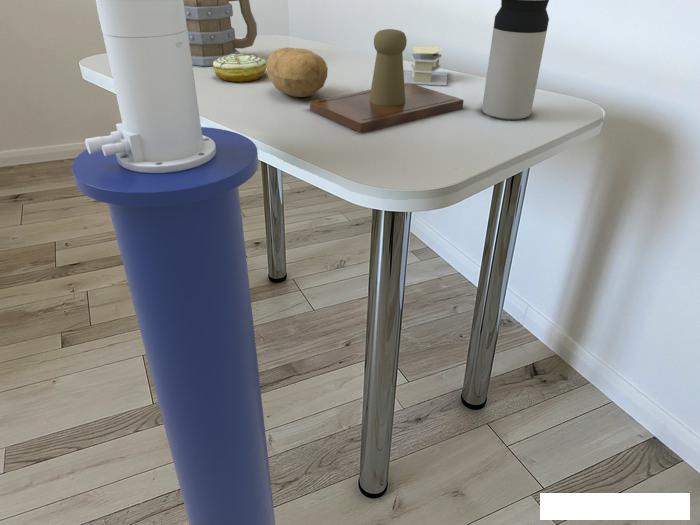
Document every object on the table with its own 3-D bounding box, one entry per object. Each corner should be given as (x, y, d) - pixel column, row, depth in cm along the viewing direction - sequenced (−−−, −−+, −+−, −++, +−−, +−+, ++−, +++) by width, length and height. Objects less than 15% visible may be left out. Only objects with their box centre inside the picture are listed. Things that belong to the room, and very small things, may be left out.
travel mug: (520, 123, 86) (543, -2, 76) (473, 114, 90) (490, -7, 80) (537, 111, 91) (560, -7, 82) (492, 103, 95) (510, -11, 85)
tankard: (186, 68, 115) (174, -11, 107) (177, 56, 125) (166, -17, 117) (276, 60, 122) (272, -14, 114) (261, 50, 132) (256, -20, 124)
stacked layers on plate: (446, 85, 105) (449, 56, 102) (400, 83, 106) (402, 53, 103) (447, 73, 113) (450, 45, 110) (404, 71, 115) (406, 43, 112)
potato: (299, 83, 105) (297, 39, 101) (340, 100, 96) (340, 52, 92) (254, 90, 101) (250, 45, 96) (293, 109, 91) (291, 59, 87)
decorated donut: (265, 69, 115) (263, 50, 113) (269, 82, 106) (267, 62, 104) (214, 71, 113) (212, 52, 111) (214, 84, 104) (212, 63, 102)
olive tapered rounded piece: (412, 102, 90) (417, 31, 84) (381, 107, 87) (384, 34, 81) (392, 93, 94) (396, 25, 88) (362, 98, 92) (364, 28, 86)
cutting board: (360, 133, 81) (360, 123, 80) (309, 110, 91) (309, 101, 90) (462, 108, 92) (463, 99, 92) (407, 90, 102) (408, 82, 101)
